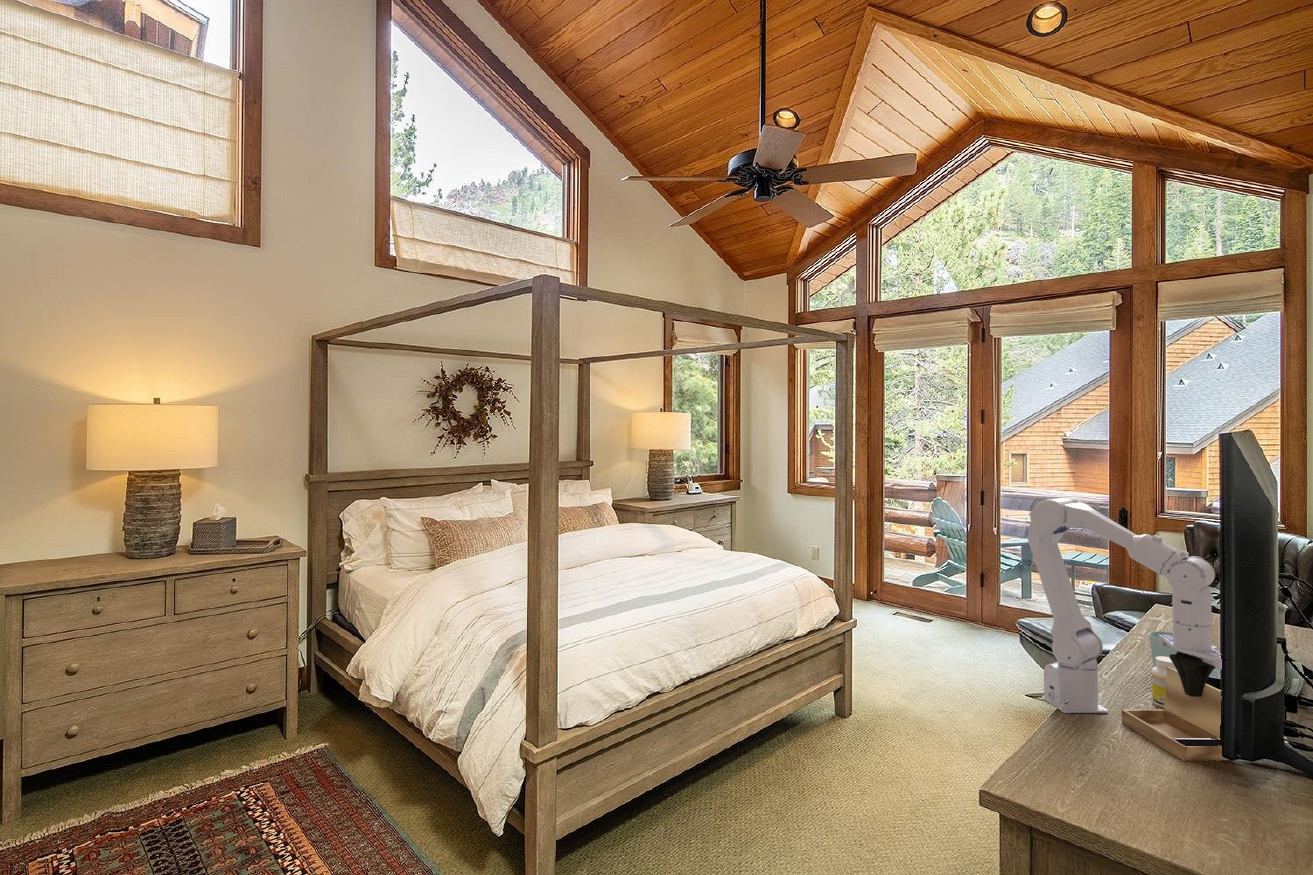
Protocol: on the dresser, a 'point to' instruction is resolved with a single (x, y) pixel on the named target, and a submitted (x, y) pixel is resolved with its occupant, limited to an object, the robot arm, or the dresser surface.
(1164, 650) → the cup
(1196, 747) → the carton
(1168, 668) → the lid flap
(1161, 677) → the supplement bottle
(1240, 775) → the dresser surface
